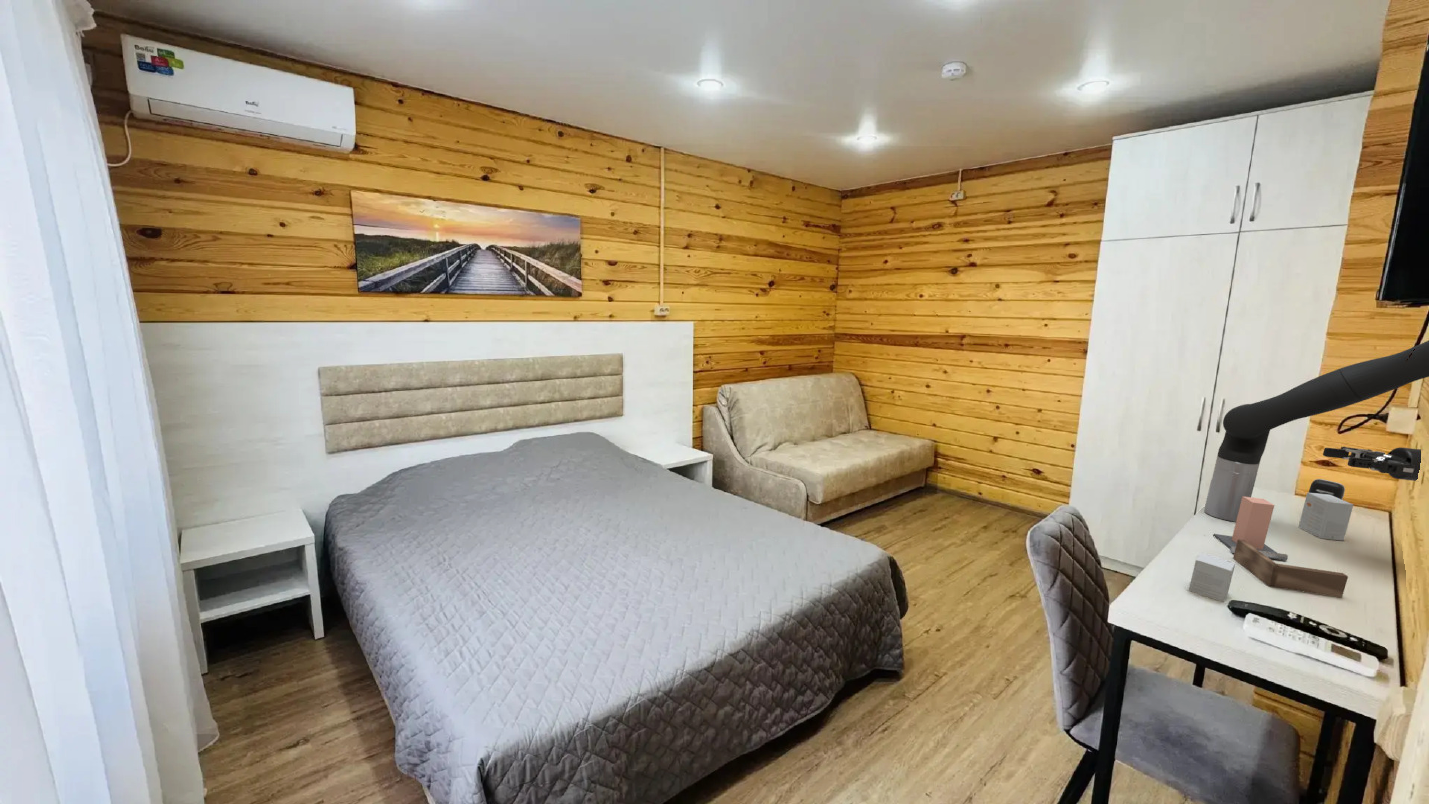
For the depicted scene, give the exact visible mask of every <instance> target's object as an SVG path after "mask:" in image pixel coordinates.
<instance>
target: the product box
mask: <svg viewBox="0 0 1429 804" xmlns="http://www.w3.org/2000/svg"><path fill="white" fill-rule="evenodd" d="M1235 567H1236V562H1234V561H1231V560H1229V559H1225V558H1221V557H1218V556H1214V555H1211V554H1209V553H1204V552H1199V554H1198V555H1197V557H1196V559H1195V562H1194V567H1193V571H1192V575H1191V578H1190V583H1189V587H1188V591H1189V592H1190V593H1191V592H1192V593H1194V594H1197V595H1201V596H1204V597H1207V598H1210V599H1213V600H1216V601H1220V602H1222V603H1225V601H1226V599H1227V597H1228V594H1229V590H1230V586H1231V583H1232V579H1233V574H1234V571H1235Z"/></svg>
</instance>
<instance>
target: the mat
mask: <svg viewBox="0 0 1429 804" xmlns="http://www.w3.org/2000/svg"><path fill="white" fill-rule="evenodd" d="M1214 536H1215V537H1216V538H1215V537H1214ZM1232 536H1233V535H1225V534H1219V533H1213V537H1214V538H1215V539H1217V540H1218V539H1219V540H1220V541H1219V540H1218V541H1219V542H1220V543H1222V544H1223V545H1225V546H1226V547H1227V548H1228V549H1230V548H1231V547H1236V545H1237V543H1236V542H1234V541H1233V540H1232ZM1257 550H1259V551H1266V552H1273V553H1278V552H1277V551H1275V550H1274V549H1273V548H1271V547H1270V546H1268V545H1267V544H1266V543H1264V547H1263V550H1261V549H1257Z"/></svg>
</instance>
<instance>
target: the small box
mask: <svg viewBox="0 0 1429 804" xmlns="http://www.w3.org/2000/svg"><path fill="white" fill-rule="evenodd" d="M1353 507H1354V504H1353V503H1350V502H1348V501H1346V500H1341V499H1339V498H1337V497H1334V496H1332V495H1328V494H1318V493H1309V492H1306V497H1305V500H1304V504H1303V508H1302V511H1301V512H1302V513H1301V515H1300V521H1299V524H1298V528H1299V527H1300V528H1299V529H1302V530H1303V531H1305V530H1306V531H1305V532H1307V533H1309V534H1311V533H1312V534H1311V535H1313V536H1315V537H1317V536H1318V537H1317V538H1318V539H1321V540H1322V539H1324V540H1333V541H1345V537H1346V534H1347V531H1348V526H1349V522H1350V518H1351V515H1352V511H1353Z"/></svg>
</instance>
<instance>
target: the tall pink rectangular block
mask: <svg viewBox="0 0 1429 804" xmlns="http://www.w3.org/2000/svg"><path fill="white" fill-rule="evenodd" d="M1274 509H1275V504H1273V503H1272V502H1270V501H1268V500H1266V499H1265V498H1259V497H1252V496H1251V497H1243V496H1242V500H1241V504H1240V508H1239V512H1238V516H1237V520H1236V521H1235V524H1234V529H1233V533H1232V535H1231V536H1232V540H1233V541H1234V542H1236V543H1237V541H1238V539H1240V540H1244V541H1246V542H1247V543H1249V544H1250V545H1251V546H1253V547H1254V548H1255V549H1261V550H1263V547H1264V544H1266V543H1265V542H1266V540H1267V539H1266V538H1267V537H1268V531H1269V528H1270V524H1271V520H1272V516H1273V513H1274Z"/></svg>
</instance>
